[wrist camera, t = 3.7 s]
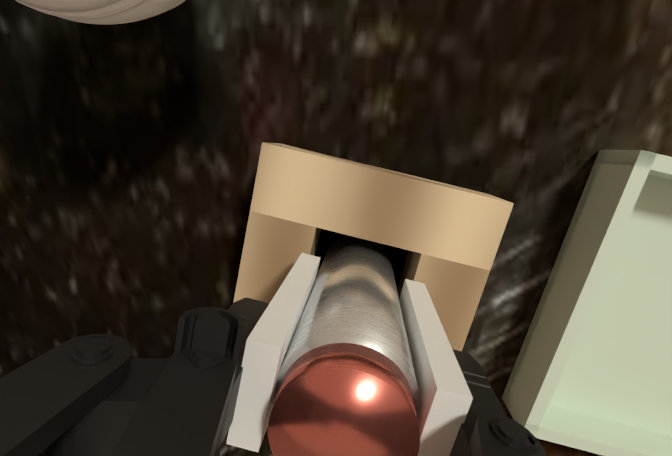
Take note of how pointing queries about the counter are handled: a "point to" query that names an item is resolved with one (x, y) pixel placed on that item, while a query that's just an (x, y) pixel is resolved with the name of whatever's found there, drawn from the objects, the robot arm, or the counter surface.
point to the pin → (348, 364)
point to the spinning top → (103, 9)
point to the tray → (605, 319)
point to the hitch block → (371, 227)
